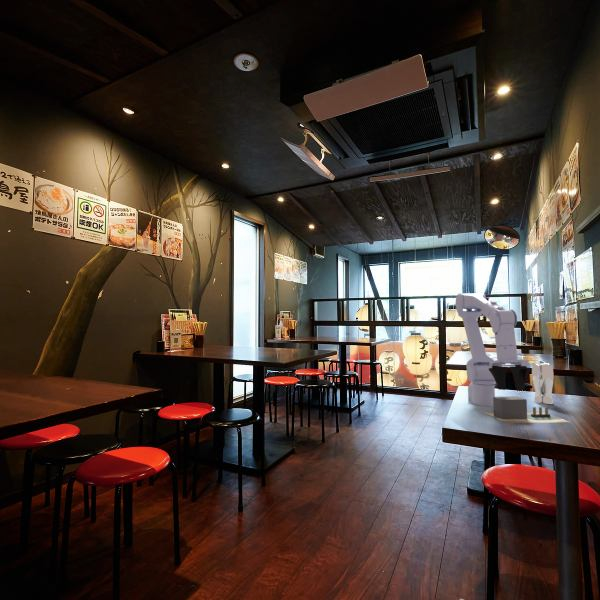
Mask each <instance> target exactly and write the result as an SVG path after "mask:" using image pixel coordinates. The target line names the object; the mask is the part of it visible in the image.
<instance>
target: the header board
mask: <svg viewBox="0 0 600 600" xmlns="http://www.w3.org/2000/svg"><path fill="white" fill-rule="evenodd" d="M485 414H486V415H487V416H490V417H493V419H497V420H499V421H501V422H504V423H506V424H542V423H543V424H546V423H547V424H549V423H553V424H554V423H570V421H569V420H566V419H563V418H560V417H559V416H555V415H552V414H550V413H549V407H547V406H545V407H544V411H543V407H541V406H539V407H538V411H537V407H536V406H532V411H527V419H500V418H498V417H496V416H494V411H493V412H485Z"/></svg>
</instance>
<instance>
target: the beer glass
mask: <svg viewBox="0 0 600 600" xmlns="http://www.w3.org/2000/svg"><path fill="white" fill-rule="evenodd" d="M554 378H555V377H554V367H553V364H552V363H547V362H545V363H543V362H532V364H531V379H532V383H533V387H534V392H535V394H534V400H533V401H534V403H535V402H536V404H539V403H540V404H539V405H547V404H551V405H554V400H553V397H552V395H553V393H552V392H553V386H554Z"/></svg>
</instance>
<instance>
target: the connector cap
mask: <svg viewBox="0 0 600 600" xmlns="http://www.w3.org/2000/svg"><path fill="white" fill-rule="evenodd" d="M527 402H528V401H527V399H526V398H523V397H520V396H518V395H517V396H495V397H493V406H492V407H493V412H494V416H496V417H498V418H500V419H527V412H528V407H527V406H528V403H527Z"/></svg>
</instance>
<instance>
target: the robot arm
mask: <svg viewBox="0 0 600 600" xmlns="http://www.w3.org/2000/svg"><path fill="white" fill-rule="evenodd" d="M455 307H456V308H455V309H456V312H457V315H458V316H459V317H460V318H461V319H462V321H463V326H464V330H465V334H466V339H467V341H468V342H467V343H468V346H469V350H470V355H471V358H470V359H468V360H467V362H466V364H465V367H466V377H467V379H468V380H469V382H470V383H469V385H468V386H467V387H468V388H467V402H468V404H473V405H477V406H481V407H493V397H496V391H495V388H496V387H497V390H501V391H502V390H503V391H505V390H506V389H507V387H506V386H507V384H506V376H507V372H508V367H509V370H510V372H511V374H512V376H513V380H514V385H515V390H516V391H519V392H522V391H525V386H526V380H527V377H528V375H529V373H530V371H531V367H530V362H529V359H519V358H518V349H517V341H516V332H515V327H516V325H517V323H518V316H517V313H516V311H515V310H514V309H505V308H504V307H503V306H501V305H500V304H498V303H497V301H495V300H494V301H493V300H491V301H489V300H487V297H486V294H484V293H461V292H460V293H458V294H457V295H456V297H455ZM482 315H483V316H484V317H485V318H486V319H488V320H489V324H490V326H491V329H492V333H493V334H494V340H495V341H494V342H495V351H496V359H497V360H494V359H493V358H491V357H490V356H488V355H487V352H486V348H485V345H484V341H483V337H482V333H481V330H480V327H479V323H478V319H479V318H480V317H482ZM495 385H496V387H495Z"/></svg>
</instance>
